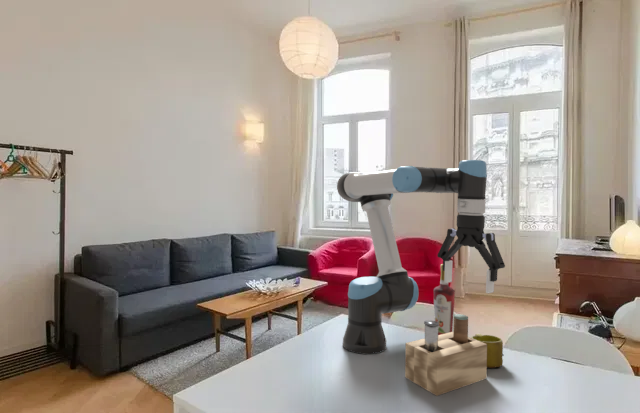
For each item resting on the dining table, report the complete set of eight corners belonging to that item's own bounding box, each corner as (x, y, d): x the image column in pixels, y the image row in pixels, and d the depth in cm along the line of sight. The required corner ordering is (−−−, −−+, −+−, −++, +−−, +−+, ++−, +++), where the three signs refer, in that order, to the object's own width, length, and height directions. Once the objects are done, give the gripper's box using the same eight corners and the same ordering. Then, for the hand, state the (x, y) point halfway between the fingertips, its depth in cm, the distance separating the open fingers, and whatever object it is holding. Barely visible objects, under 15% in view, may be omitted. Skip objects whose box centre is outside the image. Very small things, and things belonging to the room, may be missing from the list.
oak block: (405, 377, 112) (405, 343, 112) (453, 362, 122) (453, 331, 122) (436, 395, 101) (437, 358, 101) (486, 378, 111) (487, 344, 111)
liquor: (429, 342, 139) (431, 265, 138) (436, 337, 145) (437, 262, 144) (450, 347, 134) (451, 267, 134) (456, 341, 140) (457, 264, 140)
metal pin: (420, 353, 109) (421, 321, 109) (430, 350, 111) (431, 319, 111) (431, 358, 106) (431, 325, 106) (441, 355, 108) (442, 323, 108)
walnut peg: (450, 345, 115) (450, 315, 115) (459, 343, 117) (460, 313, 117) (461, 350, 112) (461, 319, 112) (470, 347, 114) (471, 317, 114)
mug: (513, 367, 115) (501, 333, 117) (478, 374, 117) (467, 340, 119) (505, 359, 126) (494, 328, 129) (473, 365, 128) (463, 335, 131)
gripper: (427, 211, 119) (425, 279, 120) (505, 217, 99) (502, 299, 100) (442, 211, 124) (440, 276, 125) (520, 217, 103) (517, 295, 104)
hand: (467, 287), depth 112 cm, fingers open, 13 cm apart
